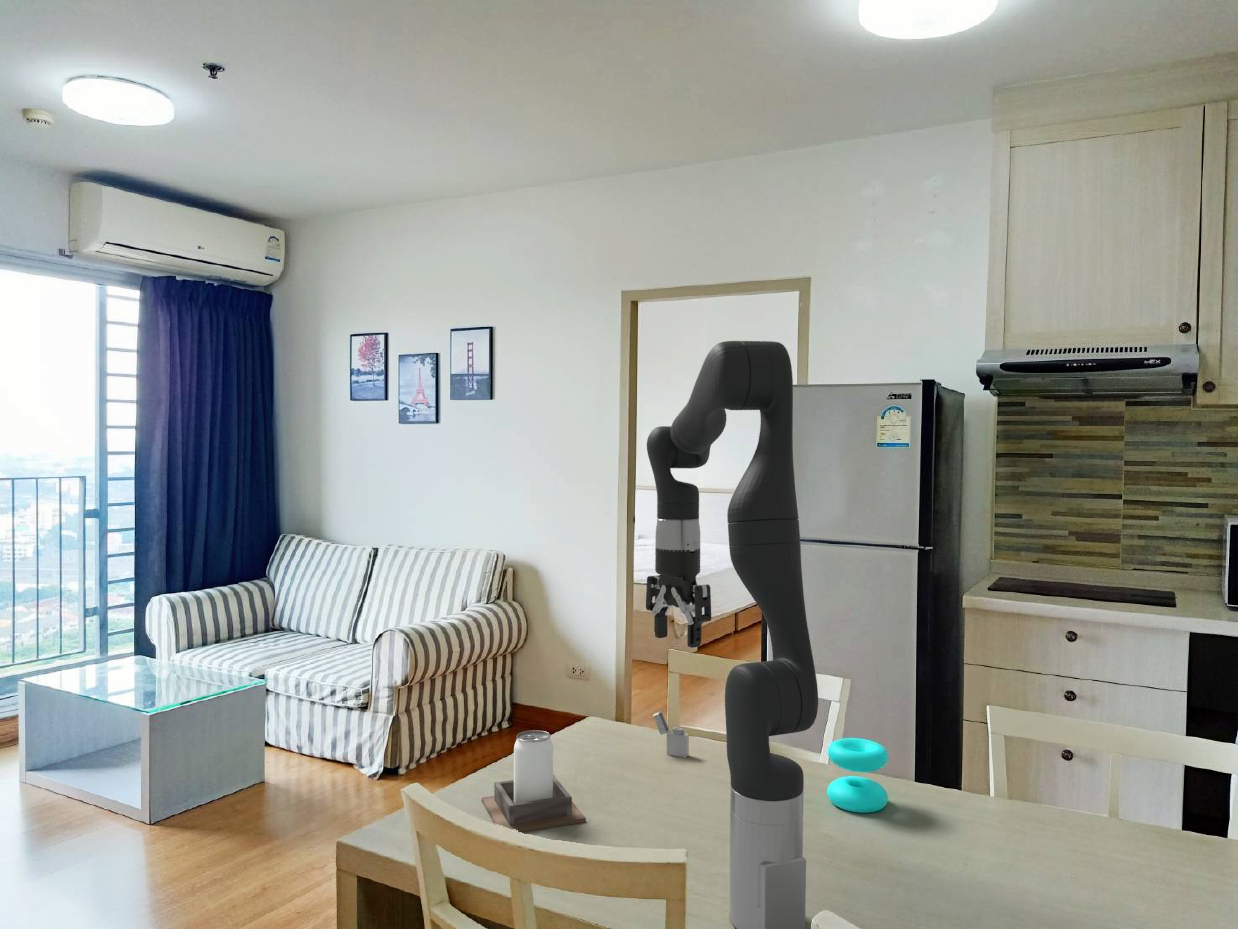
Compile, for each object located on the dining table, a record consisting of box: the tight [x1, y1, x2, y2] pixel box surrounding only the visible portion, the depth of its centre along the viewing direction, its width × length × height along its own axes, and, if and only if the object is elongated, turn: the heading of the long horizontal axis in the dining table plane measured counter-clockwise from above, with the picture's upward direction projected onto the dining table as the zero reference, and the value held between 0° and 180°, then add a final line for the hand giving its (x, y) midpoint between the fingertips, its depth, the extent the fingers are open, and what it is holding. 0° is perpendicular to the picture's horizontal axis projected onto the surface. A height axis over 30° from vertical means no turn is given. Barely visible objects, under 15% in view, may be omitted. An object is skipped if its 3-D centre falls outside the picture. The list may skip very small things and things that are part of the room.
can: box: [513, 729, 554, 803], centre depth 145 cm, size 6×6×12 cm
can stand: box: [481, 774, 587, 833], centre depth 145 cm, size 14×14×4 cm
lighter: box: [652, 710, 690, 758], centre depth 173 cm, size 7×2×8 cm, turn 65°
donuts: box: [826, 737, 889, 813], centre depth 149 cm, size 10×10×10 cm
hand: (677, 642), depth 147 cm, fingers open, 8 cm apart
